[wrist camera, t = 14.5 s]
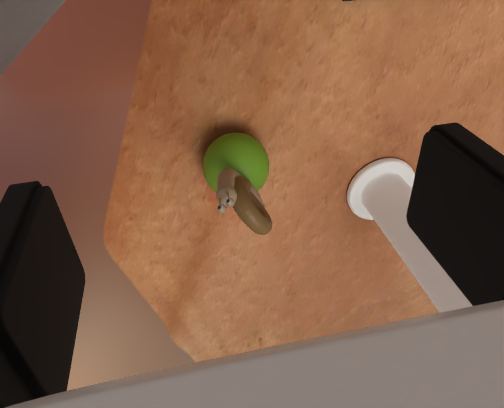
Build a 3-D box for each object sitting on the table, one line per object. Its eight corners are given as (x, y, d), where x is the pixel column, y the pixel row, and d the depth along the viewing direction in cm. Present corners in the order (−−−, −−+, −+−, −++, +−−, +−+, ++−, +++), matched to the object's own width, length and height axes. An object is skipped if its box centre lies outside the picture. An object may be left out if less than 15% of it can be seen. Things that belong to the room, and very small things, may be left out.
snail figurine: (228, 100, 33) (259, 178, 24) (273, 151, 37) (315, 237, 28) (178, 141, 35) (189, 231, 25) (226, 187, 38) (251, 281, 29)
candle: (393, 143, 39) (644, 391, 19) (423, 186, 43) (657, 429, 23) (333, 189, 41) (506, 459, 21) (366, 226, 45) (539, 484, 25)
